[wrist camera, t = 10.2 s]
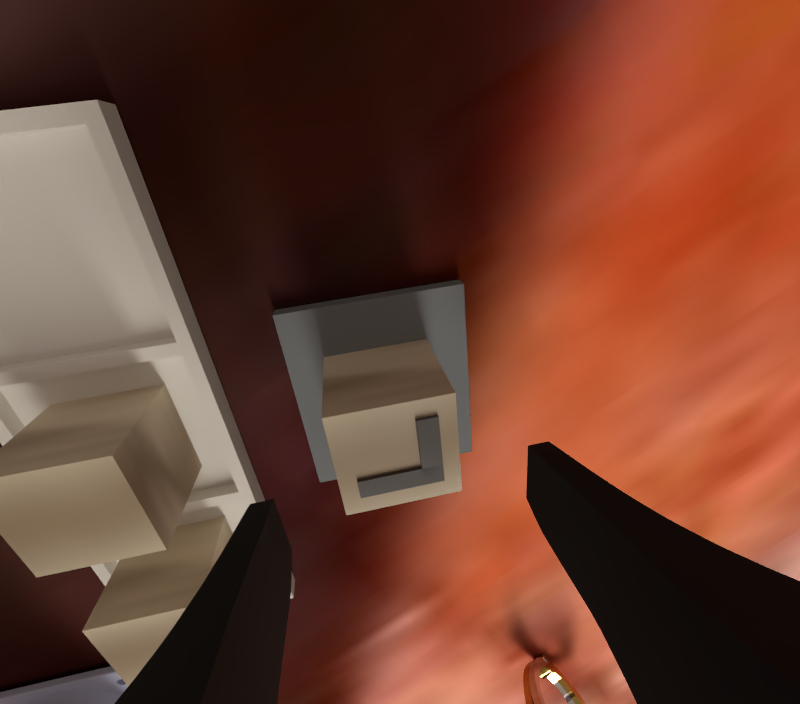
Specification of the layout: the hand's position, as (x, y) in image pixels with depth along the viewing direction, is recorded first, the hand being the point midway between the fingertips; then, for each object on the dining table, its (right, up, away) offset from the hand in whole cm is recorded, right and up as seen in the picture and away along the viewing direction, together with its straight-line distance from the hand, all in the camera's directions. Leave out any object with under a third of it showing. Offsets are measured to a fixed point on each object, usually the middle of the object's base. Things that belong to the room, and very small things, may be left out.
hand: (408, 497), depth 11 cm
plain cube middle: (-11, +1, +4) cm, 12 cm away
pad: (-1, +3, +5) cm, 6 cm away
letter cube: (-1, +3, +5) cm, 6 cm away
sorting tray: (-11, +1, +5) cm, 12 cm away
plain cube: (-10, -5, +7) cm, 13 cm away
